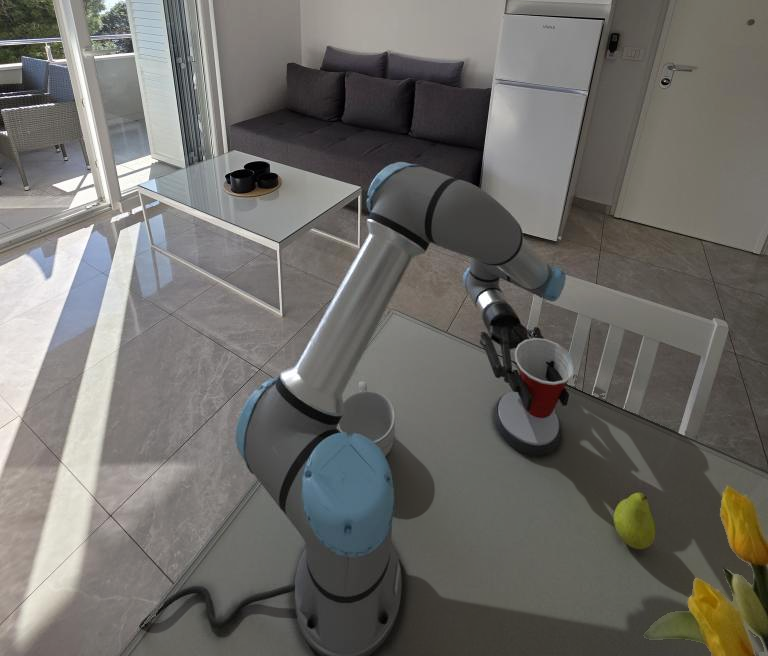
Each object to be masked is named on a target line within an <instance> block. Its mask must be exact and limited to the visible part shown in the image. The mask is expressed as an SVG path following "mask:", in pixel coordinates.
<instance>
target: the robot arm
mask: <svg viewBox="0 0 768 656" xmlns="http://www.w3.org/2000/svg"><path fill="white" fill-rule="evenodd" d="M367 196H368V198H366V207H367V210H368V212H369V215H368V217H367V218H366V226H367V229H368V235H367V236H366V238H365V239H364V242H363V244H362V246H361V247H360V249H359V251H358V252H357V254H356V256H355V257H354V260H353V262H352V264H351V266H350V267H349V268H348V271H347V272H346V274H345V276H344V278H343V280H342V281H341V283H340V285H339V287H338V289H337V291H336V293H335V294H334V296H333V298H332V299H331V302H330V303H329V305H328V306H327V308H326V310H325V312H324V314H323V315H322V318H321V320H320V321H319V323H318V325H317V326H316V328H315V330H314V332H313V334H312V336H311V338H310V339H309V341H308V343H307V345H306V346H305V348H304V350H303V352H302V354H301V356H300V357H299V358H298V359H299V360H298V361H297V363H296V365H295V366H293V367H290V368H287V369H284V370H282V371H281V372H280V374H279V376H277V377H274V378H269V379H268V380H266V381H264V382H263V383H262V384H261V385H260V388H259V389H255V390H254V391H253V392H252V394H251V395H250V396H249V397H248V398H247V401H246V402H245V404H244V405H243V408H242V410H241V412H240V414H239V417H238V420H237V423H236V427H235V444H236V449H237V451H238V453H239V455H240V457H241V458H242V460H243V461H244V463H245V467H246V468H247V470H248V471H249V472H250V473H251V474H252V475H253V476H255V478H256V479H257V480H258V482H259V483H260V484H261V485H262V486H263V488H264V489H265V491H266V492H267V493H268V494H269V496H270V497H271V498H272V500H273V501H274V503H275V504H276V505H277V507H278V508H279V509H280V511H282V512H283V513H284V515H285V516H286V518H287V519H288V520H289V521H290V523H291V524H292V526H293V527H294V528H295V530H296V531H297V532H298V533H299V535H300V536H301V538H302V540H303V541H304V543H305V547H304V550H303V551H302V553H301V556H300V558H299V561H298V564H297V568H296V571H295V576H294V577H295V578H294V583H290V584H288V585H284V586H281V587H277V588H274V589H271V590H268V591H262V592H257V593H254V594H251V595H249V596H247V597H245V598H244V599H242V600H241V601H239V602H238V604H237V605H235V606H234V608H233V609H232V610H231V612H229V614H228V615H227V616H225V618H222V619H217V618H216V617H215V615H214V610H213V601H212V597H211V594H210V591H209V590H208V589H207V588H206V587H205V586H202V585H192V586H188V587H185V588H183V589H181V590H179V591H177V592H175V593H174V594H173V595H171V596H169V597H168V598H167V599H165V600H166V601H165V600H164V601H165V602H164V601H163V602H164V604H163V606H162V607H161V608H160V609H159V610H158V612H157V613H156V616H155V617H153V618H152V619H151V621H153V620H154V619H155V618H156V617H157V616H158V615H159V614H161V613H162V612H163V611H164V610H165V609H166V608H168V607H169V606H170V605H171V604H173V603H175V602H176V601H177V600H179V599H181V598H183V597H186V596H189V595H193V594H196V595H201V596H202V597H203V598H204V602H205V611H206V617H207V619H208V622H209V624H210V625H211V626H212V627H213V628H216V629H222V628H224V627H226V626H228V625H229V624H230V623H231V622H232V621H233V620H234V618H235V617H236V616H237V615H238V614H239V613H240V612H241V610H242V609H244V608H245V607H247V606H249V605H250V604H253V603H256V602H260V601H265V600H269V599H272V598H275V597H278V596H282V595H285V594H289V593H292V592H294V607H295V608H294V609H295V615H296V619H297V623H298V626H299V628H300V631H301V633H302V635H303V637H304V639H305V640H306V642H307V643H308V645H309V646H310V647H311V648H312V649H313V651H315V652H316V653H317V654H318V655H320V656H370V655H372V654H374V652H376V650H378V649H379V648H380V647H381V646H382V644H383V643H384V642H385V641H386V639H387V638H388V637H389V635H390V634H391V632H392V630H393V627H394V625H395V623H396V620H397V617H398V614H399V611H400V606H401V599H402V598H401V597H402V586H403V584H402V581H403V580H402V568H401V563H400V559H399V556H398V553H397V550H396V548H395V545H394V544H393V542H392V532H393V519H394V514H395V506H396V505H395V489H394V483H393V474H392V471H391V468H390V467H391V466H390V465H389V461H388V460H387V458H386V456H384V454H383V453H382V451H381V450H380V449H379V447H378V446H377V445H376V444H375V443H374V442H372V441H371V440H370V439H368V438H366V437H365V436H363V435H360V434H357V433H353V435H347V432H340V431H339V430H338V423H339V421H340V419H341V417H342V415H343V414H344V411H345V408H344V404H343V402H344V400H343V399H344V398H343V394H344V392H345V390H346V388H347V386H348V385H349V382H350V381H351V378H352V377H353V375H354V373H355V370H356V368H357V367H358V365H359V363H360V361H361V359H362V357H363V355H364V353H365V351H366V349H367V347H368V346H369V343H370V341H371V340H372V337H373V336H374V333H375V331H376V330H377V328H378V326H379V324H380V322H381V320H382V318H383V316H384V314H385V313H386V311H387V309H388V306H389V305H390V303H391V300H392V299H393V297H394V295H395V293H396V291H397V288H398V287H399V285H400V283H401V281H402V279H403V277H404V275H405V273H406V271H407V270H408V267H409V265H410V263H411V262H412V260H413V259H414V258H416V257H419V256H421V255H422V256H423V255H425V253H426V252H427V250H428V248H429V246H430V244H434V245H435V246H438V247H441V248H443V249H446V250H448V251H452V252H454V253H457V254H460V255H463V256H466V257H469V258H470V265H469V267H467V269H466V270H465V272H463V275H462V282H463V284H464V288H465V290H466V292H467V294H468V295H469V297H470V299H471V301H472V303H473V304H474V306H475V308H476V310H477V312H478V314H479V316H480V318H481V320H482V321H483V324H484V326H485V328H486V330H487V332H488V333H486V331H481V332H480V337H479V344H480V346H481V347H482V348H483V349H484V350H485V353H486V356H487V359H488V361H489V364H490V367H491V369H492V372H493V376H494V377H495V378H496V379H500V378H501V377H502V378H503V381H504V382H505V383H506V384H508V385H509V387H510V389H511V391H513V392H518V394H519V396H520V398H521V400H522V402H523V404H524V406H525V408H526V410H531V405H532V400H533V399H532V397H531V395H530V393H529V391H528V389H527V387H526V386H525V384H524V382H523V380H522V378H521V376H520V372H519V370H518V369H513V364H512V357H511V350H513V349H516V348H517V346H518V344H520V343H521V342H523V341H524V340H527V339H532V338H540V339H545V337H544V336H543V335H542V332H541V329H540V328H539V327H538V326H534V327H533V329H528V328H526V326H524V325H523V324H522V322H521V319H520V317H519V316H518V314H517V312H516V311H515V310H514V308H513V307H512V304H511V303H510V302H509V300H508V299H507V297H506V294H504V292H503V291H502V289H501V287H500V280H501V279H502V280H503V281H506V282H508V283H509V284H513V285H514V286H516V287H519V288H520V289H523V290H525V291H527V292H529V293H531V294H533V295H534V296H537V297H538V298H540V299H544V300H547V301H548V302H556V301H557V300H558V299H559V298H560V297H561V295H562V292H563V290H564V287H565V284H566V279H567V274H566V272H565V270H563V269H561V268H559V267H557V266H556V265H554V264H550V263H548V262H546V261H545V260H544V259H543V257H541V256H540V254H539V253H538V252H537V251H536V250H535V249H534V247H533V246H532V245H531V244H530V243H529V242H528V240H526V239H525V238H524V233H523V229H522V227H521V224H520V223H519V222H518V220H517V219H516V218H515V217H514V216H513V215H512V213H511V212H509V211H508V209H506V208H505V207H504V206H503V205H502V204H501V203H500V202H499V201H498V200H496V199H495V198H494V197H493V196H491V195H490V194H489V193H487V192H486V191H485V190H483V189H482V188H480V187H478V186H477V185H475V184H473V183H471V182H469V181H466V180H463V179H458V178H457V177H453V176H450V175H447V174H444V173H442V172H439V171H436V170H433V169H430V168H427V167H425V166H423V165H420V164H417V163H416V164H415V163H409V162H405V161H397V162H394V163H391V164H389V165H387V166H385V167H384V168H382V169H381V170H380V171H379V172H378V173H377V174H376V176H375V177H374V179H373V180H372V181H371V184H370V185H369V188H368V190H367ZM494 343H496V344H497V345H499V346H500V352H501V357H502V363H501V359H500V358H499V355H498V352H497V350H496V347H495V344H494ZM546 364H547V365H548V366H547V371H546V379H547V380H548V381H550V382H556V381H561V380H563V379H562V377H561V375H560V374H559V372H558V371H557V370H555V369H554V368H553V367H554V364H555V362H554V361H550V363H549V362H547V361H546ZM569 397H570V393H569V392H568V391H567V388H566V386H565V387H564V389H563V390H562V392H561V394H560V397H559V400H558V401H559V402H560V403H561V405H562V407H567V406H568V403H569ZM154 610H155V609H153V610H152V611H151V612H150V613H149V614H148V615H147V616H146V617H145V618H143V620H142V621H141V622H140V623H139V626H138V627H139V629H142V628H141V626H142V625H143V624H144V622H145V621H146V620H147V618H148V617H149V616H150V615H151V613H152V612H153V611H154Z"/></svg>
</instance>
